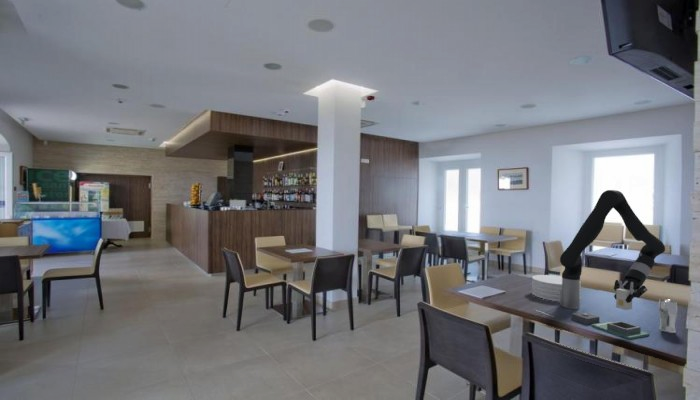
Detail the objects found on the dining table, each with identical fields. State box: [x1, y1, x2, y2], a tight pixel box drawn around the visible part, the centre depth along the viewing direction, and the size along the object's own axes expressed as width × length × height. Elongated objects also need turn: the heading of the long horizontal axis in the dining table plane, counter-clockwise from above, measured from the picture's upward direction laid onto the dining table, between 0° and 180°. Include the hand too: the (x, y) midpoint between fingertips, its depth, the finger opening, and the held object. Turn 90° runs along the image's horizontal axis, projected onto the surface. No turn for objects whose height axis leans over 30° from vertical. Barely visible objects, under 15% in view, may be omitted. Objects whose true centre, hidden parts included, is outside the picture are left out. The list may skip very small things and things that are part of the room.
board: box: [590, 320, 650, 340], centre depth 177 cm, size 18×14×4 cm
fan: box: [570, 311, 600, 326], centre depth 191 cm, size 9×9×4 cm
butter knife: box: [535, 309, 555, 318], centre depth 197 cm, size 1×27×3 cm
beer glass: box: [658, 298, 678, 334], centre depth 178 cm, size 7×7×15 cm
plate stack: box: [531, 274, 582, 302], centre depth 238 cm, size 28×28×12 cm
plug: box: [615, 288, 633, 311], centre depth 175 cm, size 4×5×9 cm
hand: (621, 300), depth 174 cm, fingers closed on plug, 4 cm apart
